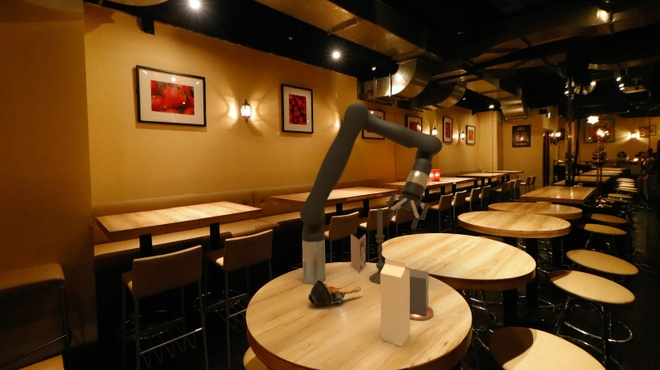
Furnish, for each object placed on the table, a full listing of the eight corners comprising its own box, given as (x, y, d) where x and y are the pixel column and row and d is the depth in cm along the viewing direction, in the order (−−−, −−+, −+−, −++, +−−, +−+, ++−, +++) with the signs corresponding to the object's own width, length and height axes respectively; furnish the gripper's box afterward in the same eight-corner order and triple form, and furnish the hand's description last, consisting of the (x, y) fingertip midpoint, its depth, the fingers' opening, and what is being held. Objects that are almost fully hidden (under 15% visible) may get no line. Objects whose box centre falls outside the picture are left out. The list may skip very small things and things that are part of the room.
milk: (390, 329, 87) (389, 255, 85) (410, 336, 83) (410, 258, 82) (380, 339, 82) (379, 261, 80) (401, 347, 78) (401, 265, 77)
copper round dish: (407, 321, 91) (407, 303, 90) (396, 306, 101) (396, 289, 100) (438, 319, 92) (439, 301, 91) (425, 303, 102) (425, 287, 101)
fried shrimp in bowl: (301, 288, 105) (340, 263, 114) (315, 317, 104) (354, 289, 112) (309, 288, 97) (351, 261, 106) (325, 320, 96) (366, 289, 104)
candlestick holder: (394, 277, 125) (394, 206, 122) (386, 285, 117) (386, 210, 115) (374, 273, 130) (373, 205, 127) (365, 281, 122) (364, 208, 120)
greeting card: (361, 273, 130) (361, 240, 129) (345, 272, 132) (344, 238, 131) (367, 265, 141) (367, 233, 139) (352, 263, 143) (351, 232, 142)
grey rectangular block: (405, 312, 95) (404, 275, 94) (408, 303, 100) (408, 269, 99) (426, 316, 92) (426, 278, 91) (428, 307, 98) (428, 271, 97)
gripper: (396, 176, 113) (381, 215, 110) (434, 187, 107) (419, 228, 104) (398, 183, 120) (384, 220, 117) (434, 193, 114) (420, 233, 111)
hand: (400, 224), depth 110 cm, fingers open, 8 cm apart
